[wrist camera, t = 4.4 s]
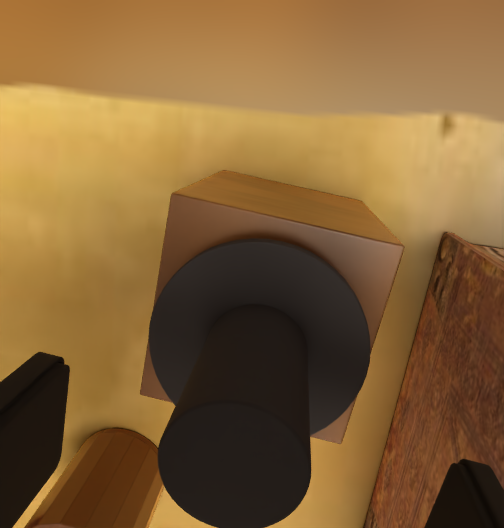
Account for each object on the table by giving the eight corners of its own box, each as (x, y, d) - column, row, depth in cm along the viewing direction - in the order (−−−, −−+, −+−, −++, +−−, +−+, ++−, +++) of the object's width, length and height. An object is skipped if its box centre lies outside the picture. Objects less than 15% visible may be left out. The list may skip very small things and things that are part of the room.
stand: (198, 299, 31) (139, 394, 20) (223, 169, 28) (170, 192, 17) (326, 329, 31) (341, 445, 19) (362, 201, 28) (405, 246, 17)
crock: (75, 491, 37) (6, 600, 28) (83, 418, 35) (12, 511, 26) (159, 513, 37) (116, 629, 28) (173, 440, 34) (131, 542, 26)
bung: (151, 387, 19) (52, 555, 12) (181, 208, 17) (83, 268, 9) (333, 432, 19) (355, 635, 11) (388, 255, 17) (464, 358, 9)
